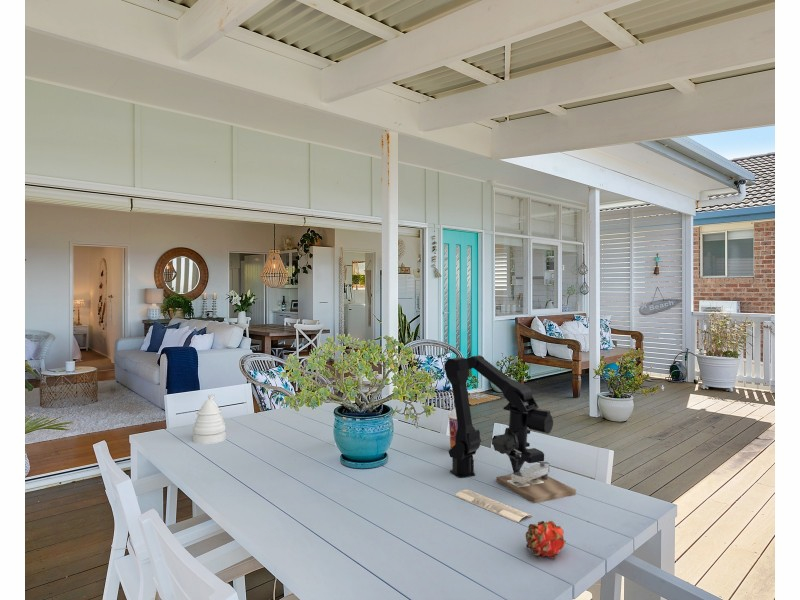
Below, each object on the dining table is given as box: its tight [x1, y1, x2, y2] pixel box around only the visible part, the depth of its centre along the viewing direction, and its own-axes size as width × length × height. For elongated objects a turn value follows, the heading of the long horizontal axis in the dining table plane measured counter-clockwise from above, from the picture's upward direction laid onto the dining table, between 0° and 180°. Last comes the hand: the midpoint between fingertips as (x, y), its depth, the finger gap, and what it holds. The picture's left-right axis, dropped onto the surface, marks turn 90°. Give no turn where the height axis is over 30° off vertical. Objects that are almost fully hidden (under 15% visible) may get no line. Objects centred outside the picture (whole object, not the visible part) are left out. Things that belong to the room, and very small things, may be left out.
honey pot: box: [192, 394, 227, 445], centre depth 216 cm, size 13×13×18 cm
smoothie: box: [448, 407, 458, 449], centre depth 202 cm, size 8×8×20 cm
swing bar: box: [511, 461, 550, 484], centre depth 165 cm, size 16×4×2 cm, turn 132°
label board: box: [496, 473, 577, 504], centre depth 165 cm, size 16×19×4 cm
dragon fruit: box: [525, 520, 566, 560], centre depth 124 cm, size 8×8×12 cm
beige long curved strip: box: [454, 489, 533, 524], centre depth 151 cm, size 24×7×2 cm, turn 40°
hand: (515, 474), depth 164 cm, fingers closed
